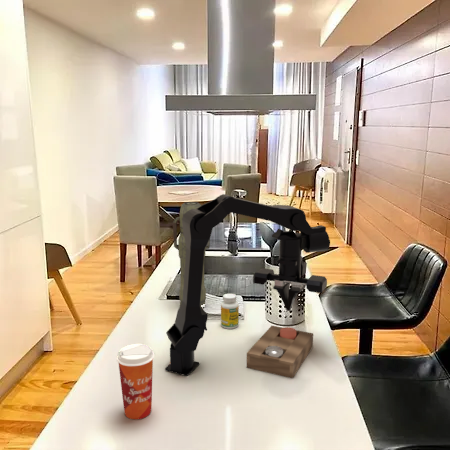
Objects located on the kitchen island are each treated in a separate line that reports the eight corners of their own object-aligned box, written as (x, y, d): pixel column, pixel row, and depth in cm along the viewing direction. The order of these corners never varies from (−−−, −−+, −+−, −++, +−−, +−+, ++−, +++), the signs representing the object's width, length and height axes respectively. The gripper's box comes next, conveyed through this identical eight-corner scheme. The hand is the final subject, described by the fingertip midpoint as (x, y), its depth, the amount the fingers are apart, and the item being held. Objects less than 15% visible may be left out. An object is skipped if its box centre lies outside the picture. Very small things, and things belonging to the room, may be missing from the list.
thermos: (175, 301, 162) (172, 201, 155) (209, 300, 163) (208, 200, 156) (174, 311, 154) (172, 205, 146) (210, 310, 155) (210, 205, 147)
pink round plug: (293, 346, 125) (293, 335, 125) (277, 343, 127) (277, 332, 127) (298, 340, 129) (298, 329, 129) (282, 336, 131) (283, 326, 130)
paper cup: (123, 426, 95) (120, 363, 92) (116, 406, 102) (113, 346, 99) (161, 417, 98) (159, 355, 95) (151, 398, 105) (149, 339, 102)
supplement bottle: (229, 320, 147) (229, 291, 145) (242, 325, 143) (242, 295, 141) (217, 325, 143) (217, 295, 141) (229, 331, 139) (229, 300, 137)
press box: (292, 378, 113) (293, 363, 112) (246, 367, 118) (246, 352, 118) (312, 347, 129) (313, 333, 128) (271, 338, 134) (271, 325, 133)
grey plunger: (279, 367, 116) (279, 355, 115) (262, 363, 118) (262, 351, 117) (285, 359, 120) (285, 347, 119) (268, 356, 122) (269, 344, 121)
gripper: (333, 250, 126) (330, 305, 130) (267, 243, 134) (266, 295, 137) (322, 261, 116) (320, 320, 120) (252, 253, 124) (252, 308, 128)
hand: (288, 310), depth 126 cm, fingers closed
